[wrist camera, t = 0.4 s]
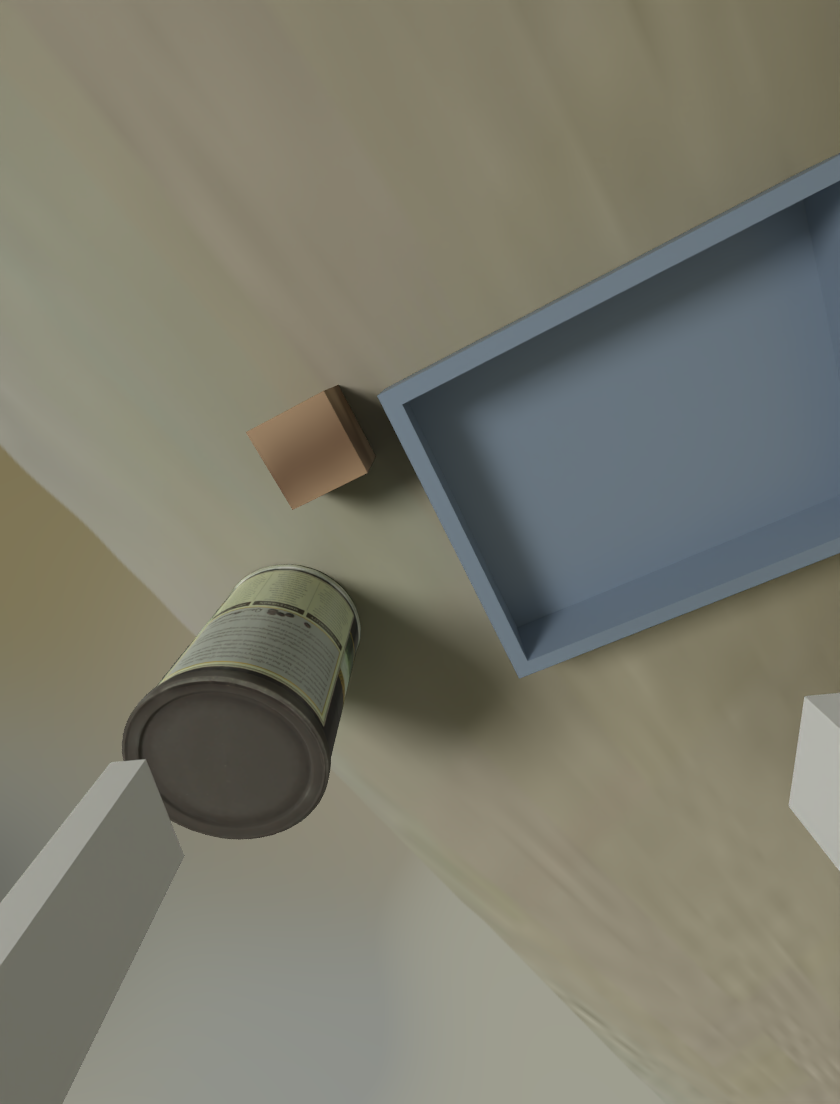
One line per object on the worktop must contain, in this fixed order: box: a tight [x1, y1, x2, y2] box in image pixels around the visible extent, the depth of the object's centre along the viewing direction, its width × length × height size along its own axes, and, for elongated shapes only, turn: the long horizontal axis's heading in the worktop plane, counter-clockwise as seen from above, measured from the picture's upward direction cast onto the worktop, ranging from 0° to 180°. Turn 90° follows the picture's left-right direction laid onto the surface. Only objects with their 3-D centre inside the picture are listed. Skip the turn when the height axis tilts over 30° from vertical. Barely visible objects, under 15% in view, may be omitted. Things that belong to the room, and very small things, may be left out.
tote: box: [378, 153, 840, 678], centre depth 32 cm, size 20×26×5 cm
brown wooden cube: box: [246, 385, 376, 510], centre depth 32 cm, size 5×5×5 cm
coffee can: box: [122, 565, 361, 839], centre depth 33 cm, size 10×10×14 cm
